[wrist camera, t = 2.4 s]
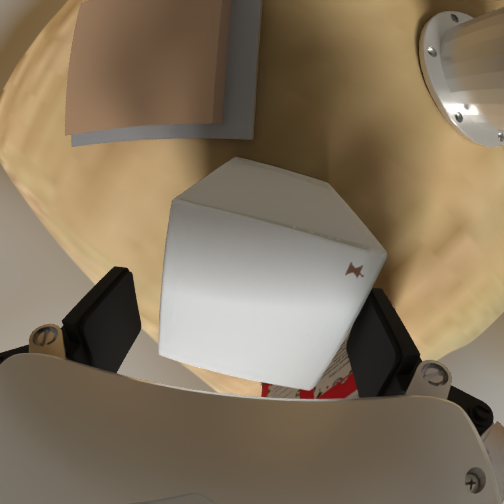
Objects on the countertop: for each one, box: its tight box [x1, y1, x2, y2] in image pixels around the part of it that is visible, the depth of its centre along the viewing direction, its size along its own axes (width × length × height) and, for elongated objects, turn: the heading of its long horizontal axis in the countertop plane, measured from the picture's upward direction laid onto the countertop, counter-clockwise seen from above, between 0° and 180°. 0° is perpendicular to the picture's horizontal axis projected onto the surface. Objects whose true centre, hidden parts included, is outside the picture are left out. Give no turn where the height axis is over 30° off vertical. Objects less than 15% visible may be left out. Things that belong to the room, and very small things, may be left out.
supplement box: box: [158, 157, 387, 391], centre depth 15 cm, size 7×7×13 cm
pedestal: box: [65, 0, 263, 147], centre depth 14 cm, size 15×13×4 cm
